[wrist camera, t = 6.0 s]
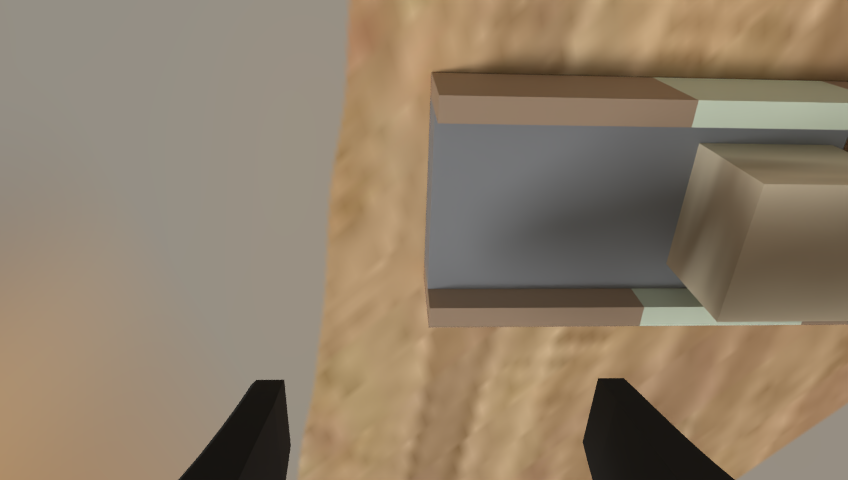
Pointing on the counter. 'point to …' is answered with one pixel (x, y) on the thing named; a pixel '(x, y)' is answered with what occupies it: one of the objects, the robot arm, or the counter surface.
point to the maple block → (765, 232)
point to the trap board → (586, 189)
